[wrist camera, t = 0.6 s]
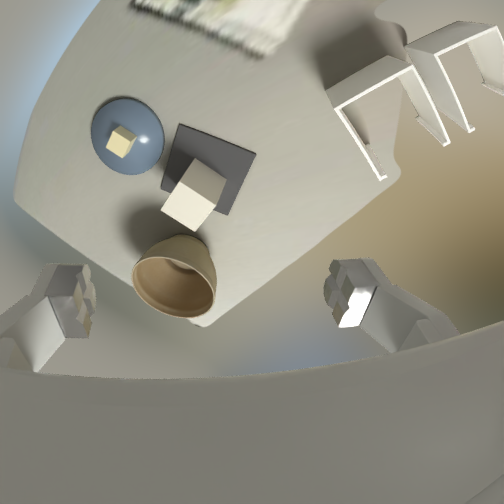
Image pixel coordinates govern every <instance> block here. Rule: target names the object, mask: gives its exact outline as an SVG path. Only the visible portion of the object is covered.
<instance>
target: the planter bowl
mask: <svg viewBox="0 0 504 504" xmlns="http://www.w3.org/2000/svg"><path fill="white" fill-rule="evenodd" d="M131 279H132V284H133V286H134V289H135V290H136V292H137V294H138V295H139V296H140V297H141V299H142V300H143V301H145V302H146V303H147V304H148V305H150V306H151V307H153V308H154V309H156V310H158V311H160V312H162V313H164V314H167V315H170V316H174V317H180V318H195V317H199V316H202V315H204V314H206V313H207V312H209V311H210V310H211V308H212V307H213V305H214V302H215V292H216V285H217V278H216V271H215V267H214V264H213V261H212V259H211V257H210V254H209V251H208V249H207V247H206V246H205V245H204V244H203V243H202V242H201V241H200V240H198V239H197V238H195V237H193V236H189V235H175V236H173V237H171V238H169V239H166V240H163V241H161V242H158V243H157V244H155V245H153V246H152V247H151V248H149V249H148V250H147V251H146V252H145V253H144V255H143V256H142V257H141V259H140V260H139V261H138V262H137V263H136V264H135V266H134V268H133V270H132V274H131Z"/></svg>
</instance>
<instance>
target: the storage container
mask: <svg viewBox="0 0 504 504" xmlns="http://www.w3.org/2000/svg"><path fill="white" fill-rule="evenodd" d="M466 42H467V44H468V46H469V48H470V50H471V53H472V55H473V57H474V59H475V61H476V63H477V66H478V68H479V71H480V73H481V75H482V78H483V80H484V82H482V83H481V84H482V86H484V87H486V88H488V89H490V90H493V91H494V92H496V93H498V94H500V95H502V96H504V40H503V38H502V36H501V34H500V31H499V29H498V27H497V26H496V25H489V24H482V23H472V22H463V21H456V22H454V23H452V24H450V25H447V26H445V27H443V28H441V29H439V30H436V31H434V32H432V33H430V34H428V35H426V36H424V37H421V38H419V39H417V40H415V41H413V42H411V43H409V44H407V45H406V46H404V48H405V49H406V51H407V53H408V55H409V57H410V58H411V60H412V62H413V64H414V65H415V67H416V69H417V71H418V73H419V74H420V76H421V78H422V80H423V82H424V84H425V86H426V88H427V90H428V91H429V93H430V95H429V93H428V92H427V90H426V88H425V86H424V84H423V82H422V80H421V78H420V76H419V74H418V73H417V71H416V69H415V67H414V65H412V64H410V63H408V62H405V61H402V60H400V59H397V58H394V57H391V56H388V55H387V56H385V57H383V58H381V59H379V60H377V61H375V62H374V63H372V64H370V65H368V66H366V67H365V68H363V69H361V70H359V71H358V72H356V73H354V74H352V75H351V76H349V77H347V78H345V79H344V80H342V81H340V82H339V83H337V84H335V85H334V86H332V87H330V88H329V89H327V90H325V91H326V93H327V95H328V97H329V99H330V101H331V104H332V106H333V108H334V110H335V111H336V113H337V114H338V115H339V117H340V118H341V120H342V121H343V123H344V124H345V126H346V127H347V129H348V130H349V132H350V133H351V135H352V136H353V138H354V140H355V141H356V143H357V144H358V146H359V147H360V149H361V151H362V152H363V154H364V155H365V157H366V159H367V160H368V162H369V164H370V165H371V167H372V169H373V170H374V172H375V174H376V176H377V177H378V179H379V181H381V180H382V179H384V178H386V177H387V176H386V174H385V172H384V170H383V168H382V166H381V164H380V162H379V160H378V158H377V157H376V155H375V153H374V151H373V149H372V147H371V146H370V144H367V145H365V144H364V143H363V141H362V140H361V138H360V136H359V135H358V133H357V132H356V130H355V128H354V127H353V125H352V124H351V122H350V121H349V119H348V118H347V116H346V115H345V113H344V112H343V110H342V109H341V108H342V107H344V106H346V105H347V104H349V103H351V102H353V101H354V100H356V99H358V98H360V97H361V96H363V95H365V94H367V93H368V92H370V91H372V90H374V89H375V88H377V87H379V86H381V85H383V84H385V83H386V82H388V81H390V80H392V79H394V78H396V77H397V76H398V78H399V80H400V82H401V83H402V85H403V87H404V89H405V91H406V93H407V94H408V96H409V98H410V100H411V102H412V104H413V106H414V108H415V110H416V111H417V113H418V115H419V116H417V117H416V118H415V119H416V120H417V121H418V122H419V123H420V124H421V125H422V126H423V127H424V128H426V130H428V131H429V132H430V133H431V134H432V135H433V136H434V137H435V138H436V139H437V140H438V141H439V142H440V143H441V144H442V145H443V146H446V145H448V144H450V143H451V142H450V140H449V137H448V135H447V133H446V130H445V128H444V126H443V123H442V121H441V119H440V117H439V115H438V112H437V110H436V108H437V109H438V110H439V111H441V112H442V113H444V114H445V115H446V116H448V117H449V118H450V119H452V120H453V121H454V122H456V123H457V124H458V125H459V126H461V127H462V128H463V129H464V130H466V131H467V132H468V133H470V132H472V131H474V130H475V128H474V127H473V126H472V125H471V124H469V123H468V122H467V120H466V117H465V115H464V112H463V110H462V107H461V105H460V102H459V100H458V98H457V95H456V93H455V91H454V89H453V87H452V84H451V82H450V80H449V78H448V76H447V74H446V72H445V70H444V68H443V66H442V64H441V62H440V60H439V58H438V55H441V54H443V53H445V52H446V51H449V50H451V49H453V48H455V47H457V46H459V45H462V44H464V43H466ZM430 96H431V98H432V100H433V102H434V104H435V106H436V108H435V106H434V104H433V102H432V100H431V98H430Z"/></svg>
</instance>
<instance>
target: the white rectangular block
mask: <svg viewBox="0 0 504 504" xmlns="http://www.w3.org/2000/svg"><path fill="white" fill-rule="evenodd" d="M226 181H227V179H225V178H224V177H222V176H221V175H219V174H218V173H217V172H215V171H214V170H212V169H211V168H209V167H208V166H206V165H205V164H203V163H202V162H200V161H199V160H197V159H196V158H195V159H194V160H193V162H192V163H191V164H190V166H189V167H188V169H187V170H186V172H185V173H184V175H183V176H182V178H181V179H180V180H179V182H178V183H177V185H176V187H175V188H174V190H173V191H172V193H171V194H170V196H169V197H168V199H167V201H166V202H165V204H164V205H163V207H162V209H161V211H163V212H164V213H166V214H167V215H169V216H171V217H172V218H174V219H175V220H177V221H178V222H180V223H182V224H183V225H185V226H186V227H188V228H189V229H191V230H193V231H194V232H195V231H196V230H197V229H198V227H199V226H200V225H201V224H202V222H203V221H204V220H205V219H206V218H207V216H208V215H209V214H210V213H211V211H212V210H213V209H214V208H215V207H216V205H217V203H218V200H219V198H220V195H221V193H222V190H223V188H224V185H225V183H226Z"/></svg>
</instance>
